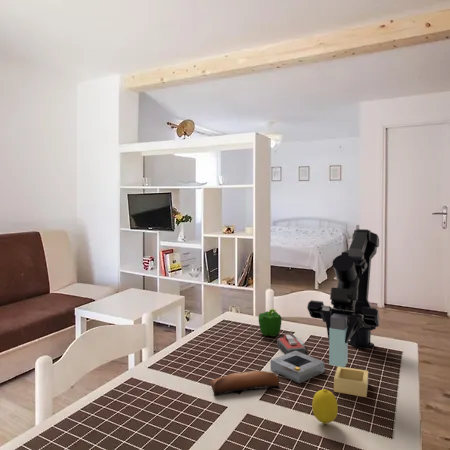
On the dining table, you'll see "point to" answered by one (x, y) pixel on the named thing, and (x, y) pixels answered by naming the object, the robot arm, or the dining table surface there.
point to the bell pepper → (270, 323)
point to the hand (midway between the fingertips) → (337, 341)
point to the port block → (297, 374)
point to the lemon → (324, 406)
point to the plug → (338, 340)
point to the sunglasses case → (244, 381)
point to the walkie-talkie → (291, 344)
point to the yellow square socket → (351, 381)
